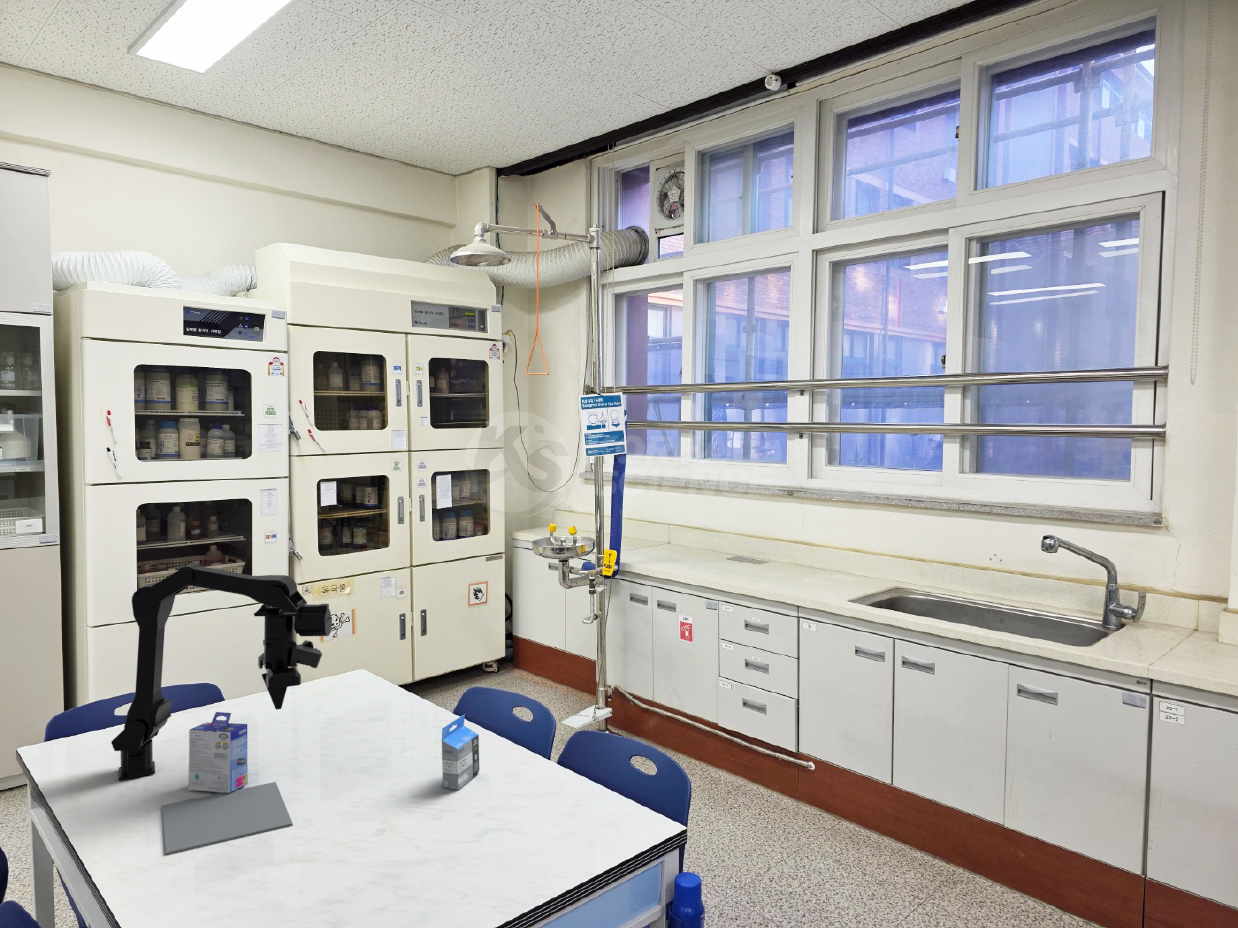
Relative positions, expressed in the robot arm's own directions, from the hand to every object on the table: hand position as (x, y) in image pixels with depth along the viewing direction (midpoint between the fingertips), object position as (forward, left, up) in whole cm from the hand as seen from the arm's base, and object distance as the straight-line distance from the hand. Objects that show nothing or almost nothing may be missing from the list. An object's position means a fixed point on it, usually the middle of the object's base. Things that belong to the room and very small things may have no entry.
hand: (278, 708), depth 168 cm
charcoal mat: (+18, -12, -13) cm, 25 cm away
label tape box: (+26, +31, -13) cm, 42 cm away
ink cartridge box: (+5, -12, -13) cm, 18 cm away
